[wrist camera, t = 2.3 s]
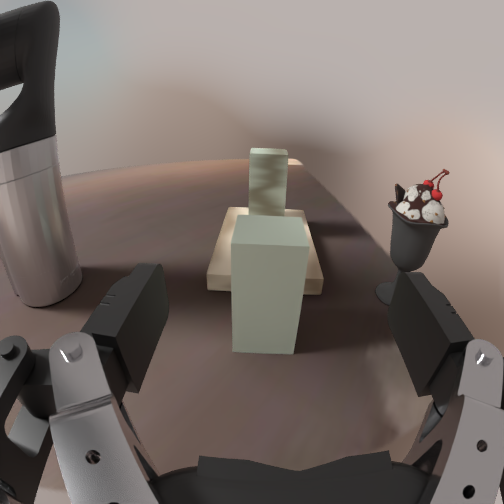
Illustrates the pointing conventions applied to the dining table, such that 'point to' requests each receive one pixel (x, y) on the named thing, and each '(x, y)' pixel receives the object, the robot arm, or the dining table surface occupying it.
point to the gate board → (225, 255)
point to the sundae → (413, 229)
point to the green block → (267, 282)
